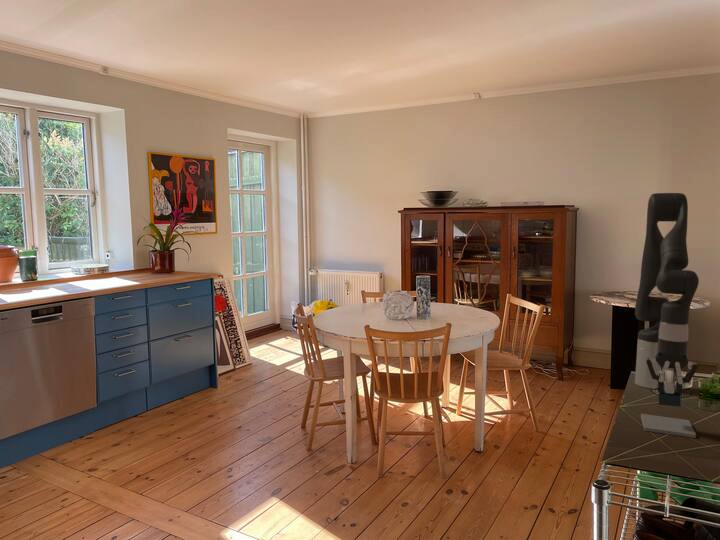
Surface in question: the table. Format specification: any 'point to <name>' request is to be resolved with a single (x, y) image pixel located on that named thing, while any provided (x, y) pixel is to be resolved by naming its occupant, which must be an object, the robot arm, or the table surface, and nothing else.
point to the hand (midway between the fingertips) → (669, 394)
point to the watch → (670, 390)
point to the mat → (667, 425)
